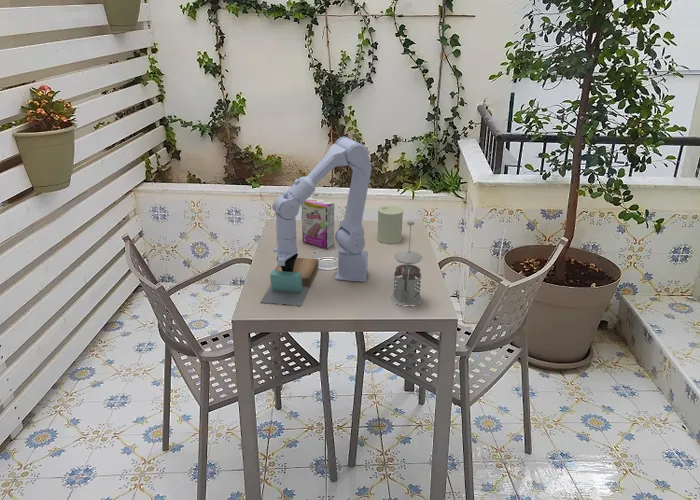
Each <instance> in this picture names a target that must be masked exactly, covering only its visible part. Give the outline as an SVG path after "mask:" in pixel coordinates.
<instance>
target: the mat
mask: <svg viewBox="0 0 700 500" xmlns="http://www.w3.org/2000/svg"><path fill="white" fill-rule="evenodd" d="M309 289H310V287H309V286H302V291H301V292H292V291H280V290H272V285H271V284H270V285H269V287H268V288H267V290H266V292H265V294H264V295H263V297H262V298H261V300H260V302H262V303H261V304H267V303H274V304H273V305H278V304H286V305H285V306H290V305H296V306H295V307H301V305H302V303H303V302H304V299H305V298H306V295H307V293H308V291H309Z"/></svg>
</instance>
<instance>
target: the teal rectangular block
mask: <svg viewBox="0 0 700 500" xmlns="http://www.w3.org/2000/svg"><path fill="white" fill-rule="evenodd" d="M269 276H270V283H271V284H270V285H272V290H280V291H292V292H301V291H302V278H301V273H298V272H285V271H274V270H273V269H272V270H271V272H270V273H269Z"/></svg>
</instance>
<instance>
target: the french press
mask: <svg viewBox="0 0 700 500" xmlns="http://www.w3.org/2000/svg"><path fill="white" fill-rule="evenodd" d="M406 224H407V226H409V234H411V233H412V232H411V231H412V228H411V227H412V226H414V224H415V222H414V221H413V220H411V219H410V220H408V221H407V222H406ZM408 239H409V241H408V249H406V250H405V249H404V250H401V251H399V252H397V253H395V254H394V259H395V261H397V262H399V263H400V264H399V265H398V266H396V267H395V271H394V275H393V293H391V295H390V298H391V300H392V301H393V302H395V303H397V304H401V305H417V304H419V303H421V304H422V302H423V301H422V299H423V296H421V286H422V285H421V284H422V281H421V280H422V274H421V269H420V268H419V267H418V266H417V265H415V264H418V263H420V262H422V260H423V259H424V258H423V255H422V254H420V253H419V252H418V251H415V250H410V249H411V247H410V246H411V236H409V237H408ZM413 264H414V265H413ZM391 300H390V301H391ZM392 301H391V302H392ZM421 301H422V302H421ZM393 302H392V303H393ZM419 305H420V304H419ZM417 306H418V305H417Z"/></svg>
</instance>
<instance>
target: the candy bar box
mask: <svg viewBox="0 0 700 500" xmlns="http://www.w3.org/2000/svg"><path fill="white" fill-rule="evenodd" d="M301 222H302V223H301V227H302V228H301V229H302V230H301V231H302V234H301V235H302V243H305V244H309V245H312V246H314V247H315V246H316V247H319V248H322V249H330V248H331V247H333V246H334V245H335V203H334V202H332V201H327V200H322V199H320V198H315V197H311V196H309V198H308V199H307V200H306V201H305V202H304V203H303V204H302V205H301Z"/></svg>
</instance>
